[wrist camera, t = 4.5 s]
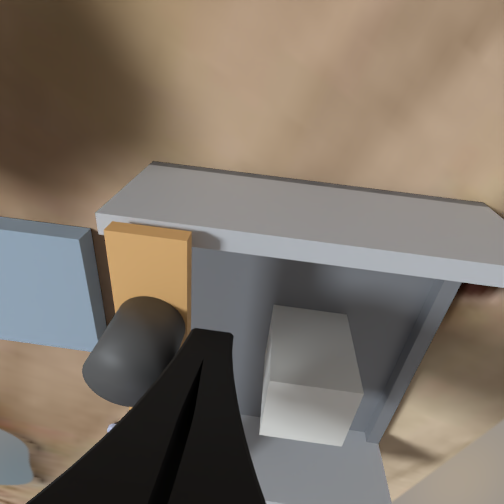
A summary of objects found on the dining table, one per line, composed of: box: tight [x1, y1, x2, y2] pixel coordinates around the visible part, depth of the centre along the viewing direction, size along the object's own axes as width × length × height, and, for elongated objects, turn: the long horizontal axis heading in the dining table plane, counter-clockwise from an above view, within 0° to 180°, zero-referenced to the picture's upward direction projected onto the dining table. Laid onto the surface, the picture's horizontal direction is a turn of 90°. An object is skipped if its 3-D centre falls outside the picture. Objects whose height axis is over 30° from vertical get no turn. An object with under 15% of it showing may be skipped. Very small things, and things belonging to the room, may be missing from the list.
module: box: [259, 305, 364, 447], centre depth 18 cm, size 4×4×5 cm
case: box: [95, 161, 504, 504], centre depth 18 cm, size 18×15×6 cm
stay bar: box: [82, 221, 192, 410], centre depth 14 cm, size 18×2×3 cm, turn 174°
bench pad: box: [0, 217, 107, 352], centre depth 20 cm, size 8×8×1 cm
